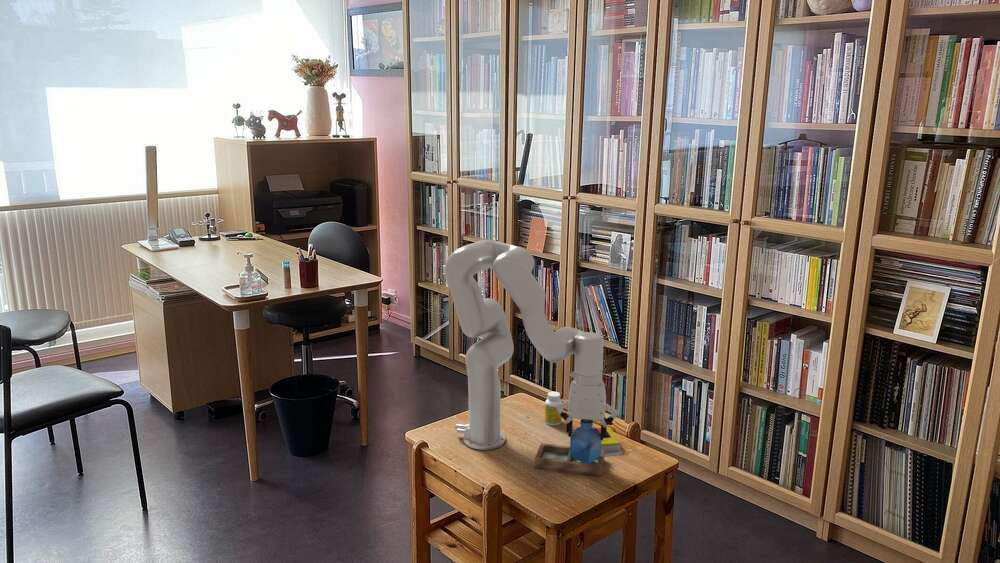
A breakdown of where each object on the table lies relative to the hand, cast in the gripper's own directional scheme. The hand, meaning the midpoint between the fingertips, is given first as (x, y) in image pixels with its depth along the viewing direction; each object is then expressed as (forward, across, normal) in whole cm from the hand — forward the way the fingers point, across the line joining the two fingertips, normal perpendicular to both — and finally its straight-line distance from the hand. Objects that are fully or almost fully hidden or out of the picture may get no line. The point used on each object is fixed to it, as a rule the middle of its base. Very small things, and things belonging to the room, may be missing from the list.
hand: (586, 436), depth 200 cm
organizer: (+9, -4, 0) cm, 10 cm away
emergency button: (+10, +3, +15) cm, 18 cm away
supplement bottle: (+9, -13, +26) cm, 31 cm away
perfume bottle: (+6, 0, 0) cm, 6 cm away
